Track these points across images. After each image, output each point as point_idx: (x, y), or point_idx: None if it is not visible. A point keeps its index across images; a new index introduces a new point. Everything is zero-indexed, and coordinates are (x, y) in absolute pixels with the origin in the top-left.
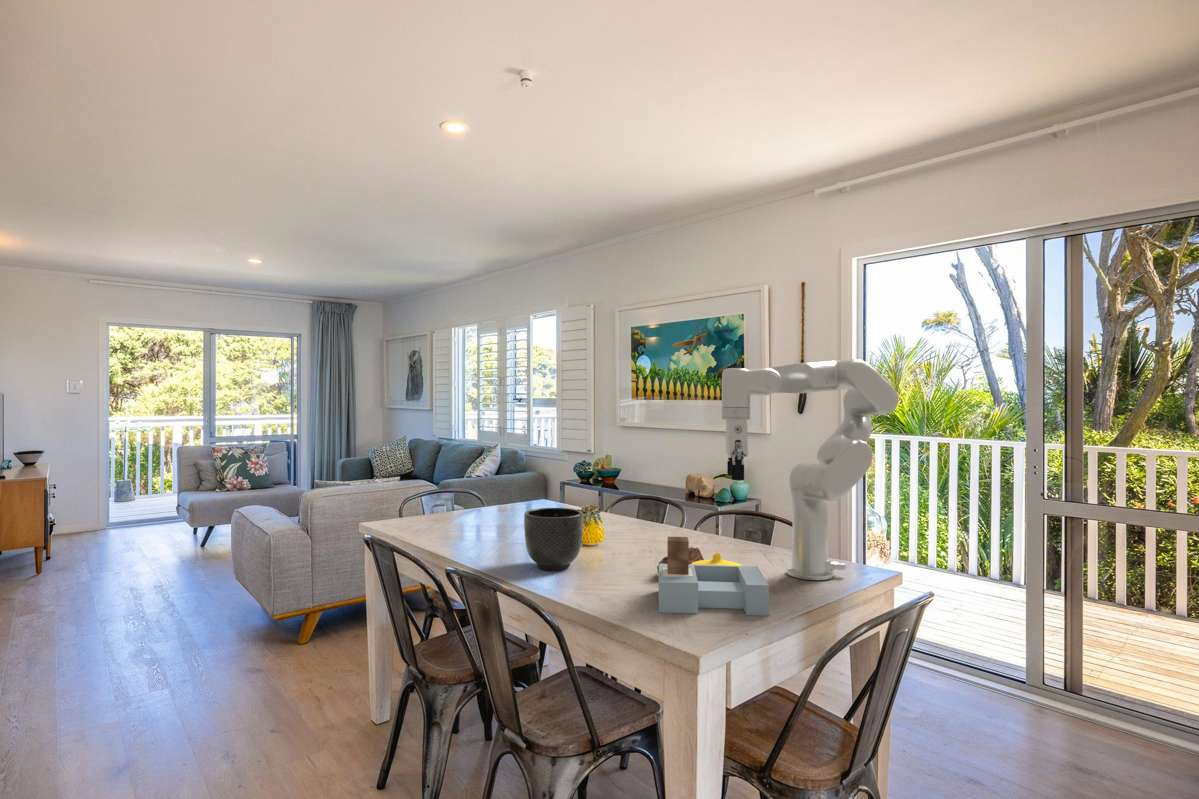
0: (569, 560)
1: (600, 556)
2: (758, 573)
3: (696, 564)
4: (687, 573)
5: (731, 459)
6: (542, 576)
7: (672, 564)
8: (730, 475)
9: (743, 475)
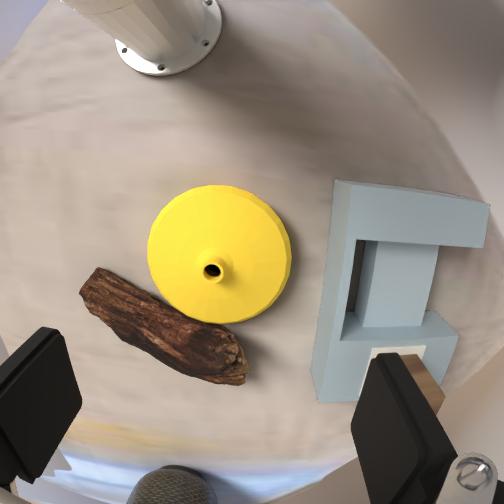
0: (198, 478)
1: (99, 425)
2: (417, 200)
3: (220, 312)
4: (417, 356)
5: (10, 475)
6: (232, 485)
7: None
8: (74, 386)
9: (408, 378)
